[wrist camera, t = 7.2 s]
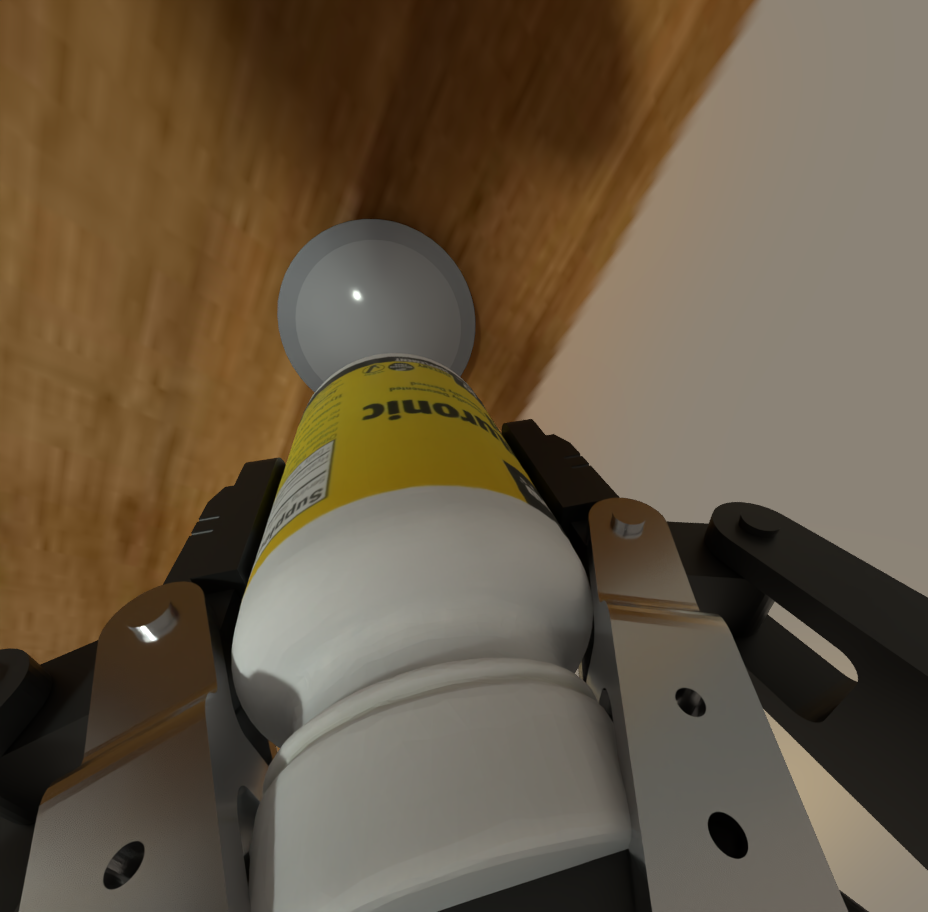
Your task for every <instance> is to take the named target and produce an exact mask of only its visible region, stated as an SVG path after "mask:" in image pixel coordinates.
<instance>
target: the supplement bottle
mask: <svg viewBox="0 0 928 912" xmlns="http://www.w3.org/2000/svg"><path fill="white" fill-rule="evenodd" d="M592 623H593V603H592V594H591V588H590V585H589V581H588V578H587V575H586V572H585V569H584V567H583V565H582V563H581V561H580V559H579V557H578V556H577V554H576V552H575V550H574V549H573V547H572V545H571V543H570V541H569V539H568V538H567V536H566V534H565V532H564V531H563V529H562V527H561V526H560V524H559V523H558V521H557V520H556V518H555V516H554V515H553V514H552V513H551V511H550V510H549V508H548V506H547V505H546V503H545V502H544V501H543V499H542V498H541V496H540V494H539V493H538V491H537V489H536V488H535V486H534V485H533V483H532V482H531V480H530V478H529V477H528V475H527V473H526V472H525V471H524V469H523V468H522V466H521V465H520V463H519V461H518V460H517V458H516V457H515V455H514V453H513V452H512V450H511V448H510V447H509V445H508V444H507V442H506V441H505V439H504V438H503V436H502V435H501V433H500V431H499V430H498V428H497V427H496V425H495V423H494V422H493V420H492V419H491V417H490V416H489V414H488V413H487V411H486V409H485V407H484V405H483V404H482V402H481V401H480V399H479V398H478V397H477V396H476V394H475V393H474V392H473V390H472V389H471V388H470V387H469V386H468V384H467V383H466V382H465V381H464V380H463V379H462V378H461V377H459V376H458V375H457V374H456V373H455V372H453V371H452V370H450V369H449V368H447V367H445V366H444V365H442V364H440V363H438V362H435V361H433V360H431V359H428V358H425V357H421V356H417V355H411V354H402V353H387V354H378V355H373V356H369V357H365V358H362V359H360V360H357V361H355V362H352V363H350V364H348V365H346V366H345V367H343V368H341V369H340V370H338V371H337V372H335V373H334V374H333V375H331V376H330V377H329V378H328V379H327V380H326V381H325V382H324V383H323V384H322V385H321V386H320V387H319V388H318V390H317V391H316V392H315V394H314V395H313V396H312V398H311V400H310V401H309V403H308V405H307V407H306V409H305V411H304V414H303V416H302V419H301V421H300V424H299V427H298V429H297V432H296V435H295V439H294V442H293V444H292V448H291V451H290V454H289V457H288V461H287V463H286V466H285V470H284V473H283V476H282V479H281V482H280V485H279V488H278V491H277V494H276V497H275V500H274V504H273V507H272V510H271V513H270V517H269V519H268V522H267V526H266V529H265V532H264V535H263V538H262V541H261V544H260V547H259V550H258V553H257V556H256V560H255V563H254V565H253V569H252V572H251V574H250V577H249V581H248V584H247V587H246V590H245V593H244V596H243V599H242V602H241V606H240V611H239V615H238V618H237V623H236V627H235V631H234V637H233V644H232V676H233V682H234V686H235V690H236V694H237V696H238V698H239V701H240V703H241V706H242V708H243V709H244V711H245V712H246V714H247V716H248V717H249V719H250V721H251V722H252V723H253V724H254V726H255V727H256V728H257V729H258V730H259V732H260V733H261V734H262V735H264V736H265V737H266V738H267V739H268V740H269V741H271V742H272V743H273V744H275V745H276V746H277V747H279V748H280V750H279V751H278V752H277V754H276V755H275V757H274V759H273V760H272V762H271V763H270V765H269V767H268V770H267V772H266V775H265V779H264V783H263V788H262V796H263V798H262V800H261V802H260V804H259V806H258V808H257V812H256V816H255V822H254V827H253V833H252V839H251V845H250V851H249V855H250V867H249V888H248V889H249V896H250V902H251V912H438V911H441V910H443V909H446V908H449V907H452V906H455V905H458V904H461V903H464V902H467V901H470V900H473V899H476V898H479V897H482V896H485V895H488V894H491V893H494V892H497V891H500V890H503V889H507V888H510V887H513V886H516V885H519V884H522V883H525V882H528V881H531V880H534V879H537V878H540V877H543V876H546V875H550V874H553V873H556V872H559V871H562V870H565V869H568V868H571V867H574V866H577V865H580V864H583V863H586V862H589V861H592V860H595V859H598V858H601V857H604V856H607V855H610V854H613V853H616V852H619V851H623V850H626V849H629V847H628V845H629V843H630V841H631V834H632V828H631V821H630V814H629V808H628V803H627V798H626V793H625V788H624V784H623V780H622V775H621V771H620V767H619V762H618V756H617V747H616V739H615V731H614V724H613V722H612V720H611V719H610V717H609V715H608V714H607V712H606V711H605V710H604V708H603V707H602V706H601V705H600V704H598V701H597V698H596V696H595V695H594V693H593V691H592V689H591V688H590V687H589V686H588V685H587V684H586V683H585V682H584V680H582V679H581V678H580V677H578V676H577V675H575V674H574V673H575V672H576V670H577V669H578V667H579V665H580V663H581V661H582V659H583V656H584V654H585V652H586V649H587V646H588V643H589V640H590V635H591V630H592Z"/></svg>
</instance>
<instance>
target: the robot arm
mask: <svg viewBox="0 0 928 912" xmlns="http://www.w3.org/2000/svg"><path fill="white" fill-rule="evenodd" d="M502 436H503V438H504V439H505V441H506V442H507V444H508V445H509V447H510V448H511V450H512V452H513V453H514V455H515V457H516V458H517V460H518V461H519V463H520V465H521V466H522V468H523V469H524V471H525V472H526V473H527V475H528V477H529V478H530V480H531V482H532V483H533V485H534V486H535V488H536V489H537V491H538V493H539V494H540V496H541V498H542V499H543V501H544V502H545V503H546V505H547V506H548V508H549V510H550V511H551V513H552V514H553V515H554V516H555V518H556V520H557V521H558V523H559V524H560V526H561V527H562V529H563V531H564V532H565V534H566V536H567V538H568V539H569V541H570V543H571V545H572V547H573V549H574V550H575V552H576V554H577V556H578V557H579V559H580V561H581V563H582V565H583V567H584V569H585V572H586V575H587V578H588V581H589V585H590V588H591V594H592V603H593V623H592V630H591V635H590V640H589V643H588V646H587V649H586V652H585V654H584V656H583V659H582V661H581V663H580V665H579V667H578V671H579V677H580V678H581V679H582V680H584V682H585V683H586V684H587V685H588V686H589V687H590V688H591V689H592V691H593V693H594V695H595V696H596V698H597V701H598V704H600V705H601V706H602V707H603V708H604V710H605V711H606V712H607V714H608V715H609V717H610V719H611V720H612V722H613V724H614V731H615V739H616V747H617V756H618V762H619V767H620V771H621V775H622V780H623V784H624V788H625V793H626V798H627V803H628V808H629V814H630V821H631V828H632V834H631V841H630V843H629V845H628V847H629V849H626V850H623V851H619V852H616V853H613V854H610V855H607V856H604V857H601V858H598V859H595V860H592V861H589V862H586V863H583V864H580V865H577V866H574V867H571V868H568V869H565V870H562V871H559V872H556V873H553V874H550V875H546V876H543V877H540V878H537V879H534V880H531V881H528V882H525V883H522V884H519V885H516V886H513V887H510V888H507V889H503V890H500V891H497V892H494V893H491V894H488V895H485V896H482V897H479V898H476V899H473V900H470V901H467V902H464V903H461V904H458V905H455V906H452V907H449V908H446V909H443V910H441V911H438V912H868V911H867V910H865V909H864V908H863V907H862V906H860V905H859V904H858V903H856V902H855V901H854V900H852V899H851V898H850V897H848V896H847V895H846V894H844V893H843V892H841V891H840V890H839V889H838V886H837V884H836V882H835V879H834V877H833V875H832V872H831V870H830V868H829V865H828V863H827V861H826V858H825V856H824V853H823V851H822V848H821V846H820V844H819V841H818V839H817V836H816V834H815V832H814V829H813V827H812V825H811V822H810V820H809V817H808V815H807V813H806V810H805V808H804V806H803V803H802V801H801V798H800V796H799V794H798V791H797V789H796V786H795V784H794V782H793V779H792V777H791V775H790V772H789V770H788V767H787V765H786V763H785V760H784V758H783V756H782V753H781V751H780V748H779V746H778V744H777V741H776V739H775V736H774V734H773V732H772V729H771V727H770V724H769V722H768V720H767V717H766V715H765V713H764V710H765V711H766V712H767V713H768V714H769V715H770V716H771V717H772V718H773V719H774V720H776V721H777V722H778V723H779V724H780V725H781V726H782V727H783V728H784V729H785V730H786V731H787V732H788V733H789V734H790V735H791V736H792V737H793V738H794V739H795V740H796V741H797V742H798V743H799V744H800V745H801V746H802V747H803V748H804V749H805V750H806V751H807V752H808V753H809V754H810V755H811V756H812V757H813V758H814V759H815V760H816V761H817V762H818V763H819V764H820V765H821V766H822V767H823V768H824V769H825V770H826V771H827V772H828V773H829V774H830V775H831V776H832V777H833V778H834V779H835V780H836V781H837V782H838V783H839V784H840V785H842V786H843V787H844V788H845V789H846V790H847V791H848V792H849V793H850V794H851V795H852V796H853V797H854V798H855V799H856V800H857V801H858V802H859V803H860V804H861V805H862V806H863V807H864V808H865V809H866V810H867V811H868V812H869V813H870V814H871V815H872V816H873V817H874V818H875V819H876V820H877V821H878V822H879V823H880V824H881V825H882V826H883V827H884V828H885V829H886V830H887V831H888V832H889V833H890V834H891V835H892V836H893V837H894V838H895V839H896V840H897V841H898V842H899V843H900V844H901V845H902V846H903V847H905V849H906V850H908V852H910V853H911V854H912V855H913V856H914V857H915V858H916V859H917V860H918V861H919V862H920V863H921V864H922V865H923V866H924V867H925V868H926V869H927V870H928V598H927V597H926V596H924V595H922V594H920V593H919V592H917V591H915V590H913V589H911V588H910V587H908V586H906V585H905V584H903V583H901V582H899V581H898V580H896V579H894V578H892V577H891V576H889V575H887V574H885V573H884V572H882V571H880V570H878V569H876V568H875V567H873V566H871V565H870V564H868V563H866V562H864V561H863V560H861V559H859V558H857V557H856V556H854V555H852V554H850V553H848V552H847V551H845V550H843V549H842V548H839V547H838V546H836V545H834V544H833V543H831V542H829V541H827V540H826V539H824V538H822V537H820V536H819V535H817V534H815V533H813V532H812V531H810V530H808V529H807V528H805V527H803V526H801V525H800V524H798V523H796V522H794V521H792V520H791V519H789V518H787V517H785V516H784V515H782V514H780V513H778V512H776V511H774V510H771V509H769V508H766V507H763V506H760V505H755V504H751V503H743V502H731V503H726V504H722V505H720V506H718V507H717V508H716V509H715V510H714V512H713V514H712V517H711V519H710V522H709V524H704V523H682V522H666V520H665V518H664V517H663V516H662V515H661V514H660V513H659V512H658V511H657V510H655V509H654V508H652V507H651V506H649V505H647V504H645V503H642V502H640V501H637V500H633V499H628V498H619V496H618V495H617V494H616V493H615V492H614V491H613V490H612V489H611V488H610V486H609V485H608V484H607V483H606V482H605V481H604V480H603V479H602V478H601V476H600V475H599V474H598V473H597V472H596V471H595V470H594V469H593V468H592V467H591V466H589V463H588V462H587V461H586V460H585V459H584V458H583V457H582V456H580V453H579V452H578V451H577V450H576V449H575V448H574V447H573V446H572V444H571V443H569V442H568V441H566V440H564V439H562V438H560V437H558V436H556V435H554V434H552V435H545V434H544V433H543V432H542V430H541V429H540V428H539V427H538V425H537V424H536V423H535V422H534V421H533V420H532V419H528V420H522V421H515V422H509V423H504V424H503V426H502ZM285 466H286V465H285V463H284V461H283V460H282V459H281V458H273V459H267V460H260V461H254V462H247V463H245V465H244V466H243V468H242V470H241V472H240V475H239V477H238V479H237V481H236V483H235V485H234V486H228V487H225V488H223V489H222V490H221V491H220V492H219V493H218V494H217V495H216V496H214V497H213V498H212V499H211V500H210V501H209V502H208V503H207V505H206V507H205V509H204V510H203V512H202V514H201V516H200V518H199V522H197V523H196V525H195V527H194V529H193V531H192V532H191V533H192V536H189V538H188V540H187V542H186V543H185V545H184V547H183V549H182V551H181V553H180V554H179V556H178V558H177V560H176V562H175V564H174V565H173V567H172V569H171V571H170V573H169V575H168V576H167V578H166V580H165V582H164V584H163V585H161V586H158V587H156V588H153V589H151V590H149V591H147V592H145V593H143V594H141V595H139V596H138V597H136V598H134V599H133V600H132V601H130V602H129V603H127V604H126V605H125V606H124V607H122V608H121V609H120V610H119V611H118V612H117V613H116V614H115V615H114V616H113V617H112V618H111V619H110V620H109V621H108V623H107V624H106V625H105V627H104V628H103V630H102V632H101V634H100V636H99V640H97V641H95V642H93V643H90V644H88V645H86V646H83V647H81V648H79V649H76V650H74V651H72V652H69V653H67V654H64V655H62V656H60V657H57V658H55V659H53V660H50V661H48V662H46V663H43V664H41V665H40V664H38V663H37V662H36V661H35V660H34V659H33V658H31V657H30V656H29V655H28V654H27V653H26V652H24V651H23V650H19V649H2V650H0V912H251V902H250V896H249V889H248V888H249V867H250V855H249V851H250V845H251V839H252V833H253V827H254V822H255V816H256V812H257V808H258V806H259V804H260V802H261V800H262V798H263V796H262V788H263V783H264V779H265V775H266V772H267V770H268V767H269V765H270V763H271V762H272V760H273V759H274V757H275V755H276V754H277V748H276V745H275V744H273V743H272V742H271V741H269V740H268V739H267V738H266V737H265V736H264V735H262V734H261V733H260V732H259V730H258V729H257V728H256V727H255V726H254V724H253V723H252V722H251V721H250V719H249V717H248V716H247V714H246V712H245V711H244V709H243V708H242V706H241V703H240V701H239V698H238V696H237V694H236V690H235V686H234V682H233V676H232V644H233V637H234V631H235V627H236V623H237V618H238V615H239V611H240V606H241V602H242V599H243V596H244V593H245V590H246V587H247V584H248V581H249V577H250V574H251V572H252V569H253V565H254V563H255V560H256V556H257V553H258V550H259V547H260V544H261V541H262V538H263V535H264V532H265V529H266V526H267V522H268V519H269V517H270V513H271V510H272V507H273V504H274V500H275V497H276V494H277V491H278V488H279V485H280V482H281V479H282V476H283V473H284V470H285ZM774 602H777V603H778V604H779V605H781V606H782V607H783V608H785V609H786V610H787V611H789V612H790V613H791V614H793V615H794V616H795V617H797V618H798V619H799V620H801V621H802V622H803V623H805V624H806V625H807V626H809V627H810V628H811V629H813V630H814V631H815V632H817V633H818V634H819V635H821V636H822V637H823V638H825V639H826V640H827V641H829V642H830V643H831V644H833V645H834V646H835V647H837V648H838V649H839V650H840V651H841V652H843V653H844V654H845V655H846V656H847V657H848V659H849V660H850V661H851V662H852V664H853V665H854V667H855V669H856V671H857V674H858V682H856V681H854V680H852V679H850V678H848V677H847V676H845V675H844V674H842V673H841V672H840V671H839V670H837V669H836V668H835V667H834V666H832V665H831V664H830V663H828V662H827V661H826V660H825V659H823V658H822V657H821V656H820V655H818V654H817V653H816V652H814V651H813V650H812V649H811V648H809V647H808V646H807V645H805V644H804V643H803V642H802V641H800V640H799V639H798V638H797V637H795V636H794V635H793V634H792V633H790V632H789V631H788V630H786V629H785V628H784V627H783V626H781V625H780V624H779V623H778V622H776V621H775V620H774V619H773V618H771V617H770V616H769V615H768V612H769V610H770V608H771V607H772V605H773V603H774ZM763 709H764V710H763Z"/></svg>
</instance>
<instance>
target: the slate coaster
mask: <svg viewBox="0 0 928 912" xmlns="http://www.w3.org/2000/svg"><path fill="white" fill-rule="evenodd" d="M278 325H279V332H280V336H281V340H282V344H283V346H284V349H285V351H286V354H287V356H288V358H289V360H290V362H291V364H292V366H293V367H294V369H295V370H296V372H297V373H298V375H299V376H300V377H301V379H302V380H303V381H304V382H305V383H306V384H307V385H308V386H309V387H310V388H311V389H312V390H313V391H314V392H316V391H317V390H318V388H319V387H320V386H321V385H322V384H323V383H324V382H325V381H326V380H327V379H328V378H329V377H330V376H331V375H333V374H334V373H335V372H337V371H338V370H340V369H341V368H343V367H345V366H346V365H348V364H350V363H352V362H355V361H357V360H360V359H362V358H365V357H369V356H373V355H378V354H387V353H402V354H411V355H417V356H421V357H425V358H428V359H431V360H433V361H435V362H438V363H440V364H442V365H444V366H445V367H447V368H449V369H450V370H452V371H453V372H455V373H456V374H457V375H458V376H459V377H460V376H461V374H462V373H463V371H464V369H465V367H466V365H467V363H468V360H469V358H470V355H471V352H472V348H473V344H474V337H475V312H474V306H473V301H472V297H471V294H470V291H469V288H468V286H467V283H466V281H465V279H464V277H463V275H462V273H461V271H460V270H459V268H458V267H457V265H456V264H455V263H454V261H453V260H452V259H451V257H450V256H449V255H448V254H447V253H446V252H445V251H444V250H443V249H442V248H441V247H440V246H439V245H438V244H436V243H435V242H434V241H433V240H432V239H430V238H429V237H427V236H425V235H424V234H422V233H421V232H419V231H417V230H415V229H413V228H410V227H408V226H406V225H403V224H399V223H396V222H393V221H387V220H380V219H360V220H354V221H348V222H345V223H342V224H339V225H335V226H333V227H331V228H329V229H327V230H325V231H323V232H321V233H320V234H319V235H317V236H316V237H314V238H313V239H312V240H310V241H309V242H308V243H307V244H306V245H305V246H304V247H303V248H302V249H301V250H300V251H299V253H298V254H297V255H296V257H295V258H294V259H293V261H292V262H291V264H290V266H289V268H288V270H287V272H286V274H285V276H284V279H283V282H282V285H281V288H280V294H279V299H278Z"/></svg>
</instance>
